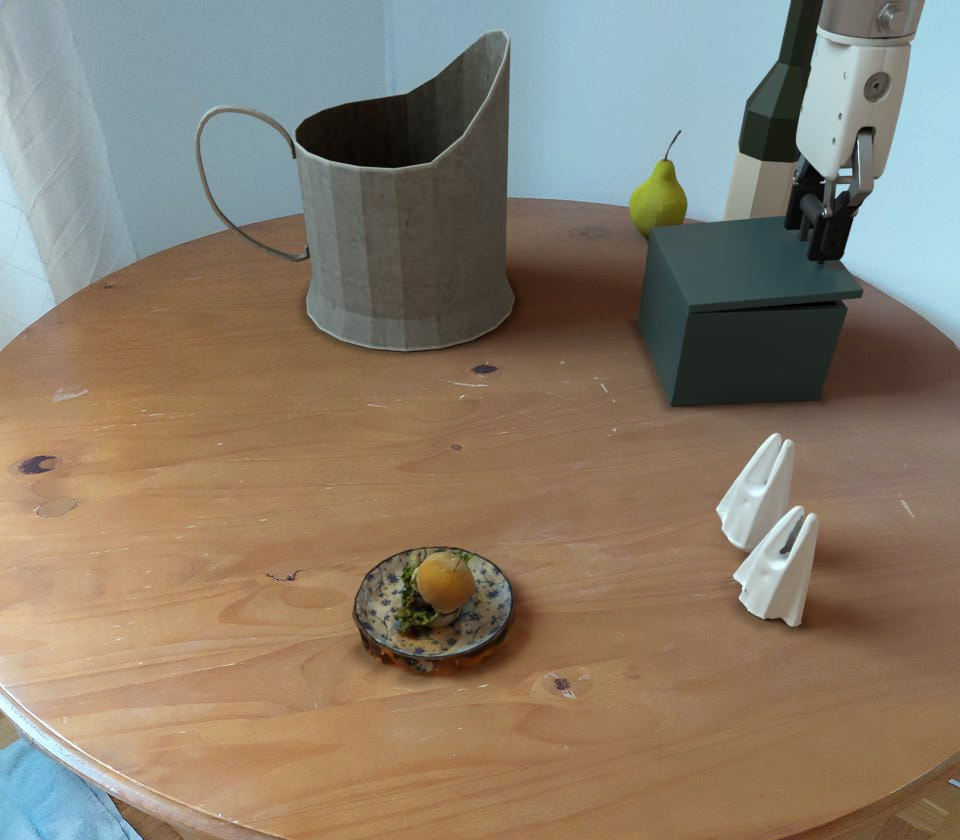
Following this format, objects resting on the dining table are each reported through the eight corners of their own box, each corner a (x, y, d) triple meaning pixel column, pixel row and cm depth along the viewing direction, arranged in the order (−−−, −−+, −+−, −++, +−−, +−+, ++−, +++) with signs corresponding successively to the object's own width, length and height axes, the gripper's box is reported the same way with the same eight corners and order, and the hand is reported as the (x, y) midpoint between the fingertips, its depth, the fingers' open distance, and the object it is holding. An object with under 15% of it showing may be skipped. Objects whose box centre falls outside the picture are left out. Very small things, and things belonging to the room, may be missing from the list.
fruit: (640, 252, 109) (654, 145, 100) (616, 230, 113) (628, 125, 104) (690, 244, 110) (709, 138, 101) (665, 222, 115) (680, 119, 106)
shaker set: (710, 524, 73) (738, 406, 65) (760, 522, 73) (795, 405, 65) (747, 628, 65) (785, 509, 57) (803, 626, 65) (849, 507, 57)
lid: (801, 221, 90) (812, 170, 86) (861, 298, 79) (876, 242, 75) (649, 235, 90) (654, 183, 86) (687, 313, 78) (694, 258, 75)
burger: (467, 544, 71) (466, 467, 66) (545, 638, 64) (552, 560, 59) (329, 595, 67) (315, 517, 62) (396, 700, 60) (388, 623, 55)
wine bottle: (771, 284, 103) (850, -37, 81) (703, 267, 106) (762, -47, 84) (793, 257, 108) (874, -52, 86) (728, 242, 111) (790, -61, 89)
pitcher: (532, 341, 94) (545, 68, 75) (226, 366, 90) (162, 86, 72) (493, 248, 109) (497, 3, 91) (232, 266, 106) (180, 15, 87)
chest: (768, 318, 97) (790, 231, 90) (819, 400, 86) (848, 308, 79) (637, 322, 96) (649, 235, 90) (670, 406, 85) (687, 314, 78)
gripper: (965, 40, 64) (885, 283, 77) (875, -13, 76) (820, 206, 89) (863, 43, 64) (801, 287, 77) (789, -10, 76) (746, 209, 89)
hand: (811, 241), depth 83 cm, fingers closed on lid, 6 cm apart
